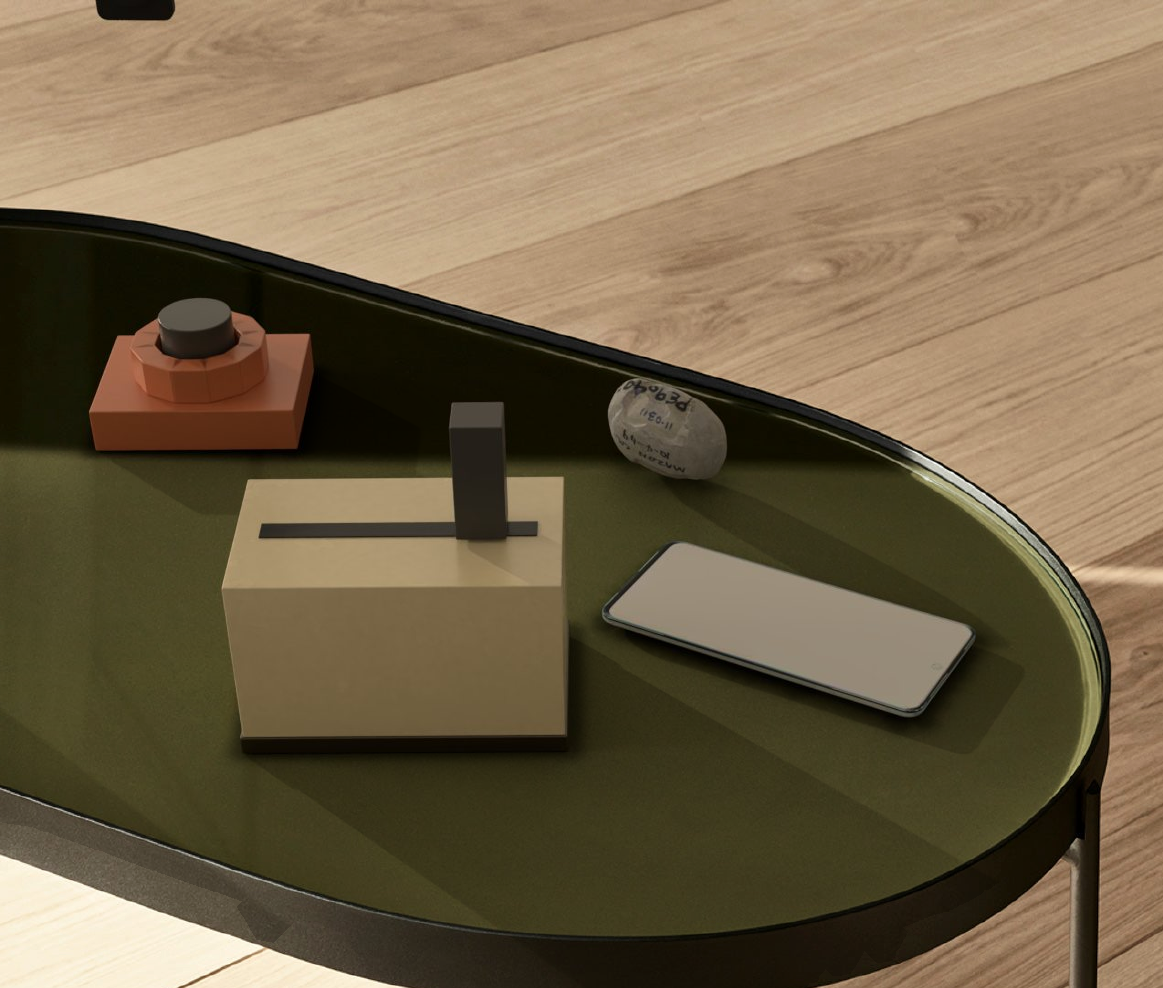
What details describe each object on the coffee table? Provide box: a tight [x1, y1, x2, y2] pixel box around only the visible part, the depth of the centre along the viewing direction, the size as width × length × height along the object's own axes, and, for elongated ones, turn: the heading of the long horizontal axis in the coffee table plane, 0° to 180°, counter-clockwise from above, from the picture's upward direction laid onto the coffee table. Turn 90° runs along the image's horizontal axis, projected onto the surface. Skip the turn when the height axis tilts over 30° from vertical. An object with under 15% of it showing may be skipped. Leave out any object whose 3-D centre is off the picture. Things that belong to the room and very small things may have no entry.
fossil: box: [607, 377, 728, 481], centre depth 100 cm, size 6×3×5 cm, turn 59°
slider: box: [448, 401, 508, 540], centre depth 82 cm, size 2×2×5 cm
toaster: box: [221, 476, 571, 754], centre depth 86 cm, size 13×8×8 cm, turn 90°
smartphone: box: [601, 540, 977, 718], centre depth 91 cm, size 7×1×15 cm
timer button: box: [157, 297, 235, 359], centre depth 104 cm, size 4×4×2 cm
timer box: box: [88, 310, 315, 452], centre depth 106 cm, size 10×8×4 cm
